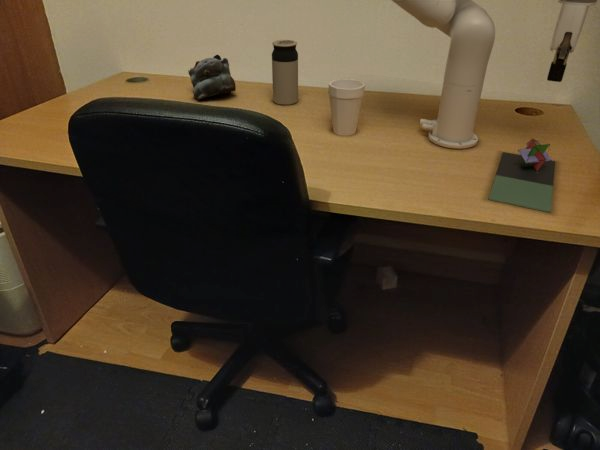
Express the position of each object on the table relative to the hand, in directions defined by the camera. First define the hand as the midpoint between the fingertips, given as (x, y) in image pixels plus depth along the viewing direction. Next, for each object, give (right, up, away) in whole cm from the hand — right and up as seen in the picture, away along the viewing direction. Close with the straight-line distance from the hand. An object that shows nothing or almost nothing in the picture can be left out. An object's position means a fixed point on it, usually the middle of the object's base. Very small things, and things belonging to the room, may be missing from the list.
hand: (554, 80), depth 114 cm
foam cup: (-48, -9, +18) cm, 52 cm away
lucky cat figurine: (-89, +8, +43) cm, 100 cm away
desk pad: (-10, -24, -6) cm, 27 cm away
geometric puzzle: (-6, -21, -2) cm, 22 cm away
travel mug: (-65, +5, +39) cm, 76 cm away
